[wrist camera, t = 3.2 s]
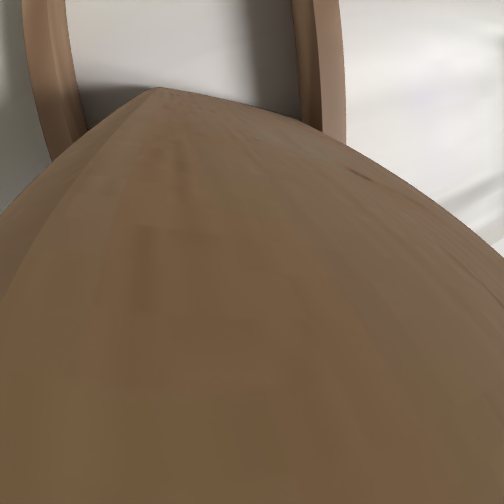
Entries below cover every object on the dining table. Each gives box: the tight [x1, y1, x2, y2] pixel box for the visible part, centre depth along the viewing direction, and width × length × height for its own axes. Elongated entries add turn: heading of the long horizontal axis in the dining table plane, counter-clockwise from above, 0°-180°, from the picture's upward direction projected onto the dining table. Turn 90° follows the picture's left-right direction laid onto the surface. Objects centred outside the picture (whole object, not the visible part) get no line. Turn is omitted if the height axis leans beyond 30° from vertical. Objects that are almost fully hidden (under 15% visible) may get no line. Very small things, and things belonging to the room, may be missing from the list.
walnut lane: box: [21, 0, 346, 162], centre depth 14 cm, size 16×28×5 cm, turn 7°
